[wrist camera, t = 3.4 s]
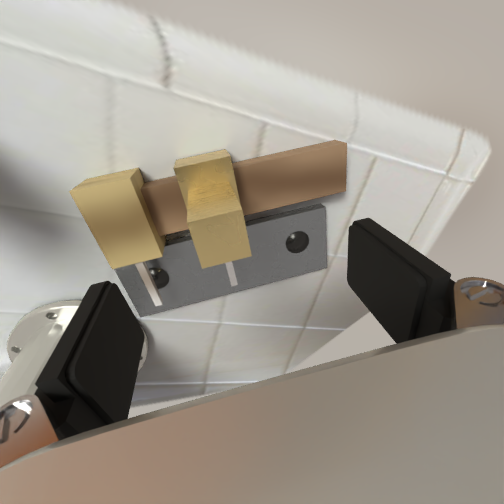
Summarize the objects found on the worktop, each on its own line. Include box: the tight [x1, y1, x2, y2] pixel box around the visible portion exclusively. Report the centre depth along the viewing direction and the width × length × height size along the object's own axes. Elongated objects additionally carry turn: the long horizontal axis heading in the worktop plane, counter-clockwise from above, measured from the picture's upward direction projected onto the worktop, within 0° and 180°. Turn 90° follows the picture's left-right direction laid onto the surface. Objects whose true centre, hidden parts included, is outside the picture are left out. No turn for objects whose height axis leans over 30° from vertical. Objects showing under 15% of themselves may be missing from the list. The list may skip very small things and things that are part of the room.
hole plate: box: [114, 204, 327, 317], centre depth 26 cm, size 7×20×1 cm, turn 100°
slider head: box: [174, 149, 252, 286], centre depth 20 cm, size 11×4×9 cm, turn 10°
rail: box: [69, 140, 347, 306], centre depth 22 cm, size 11×21×3 cm, turn 100°
